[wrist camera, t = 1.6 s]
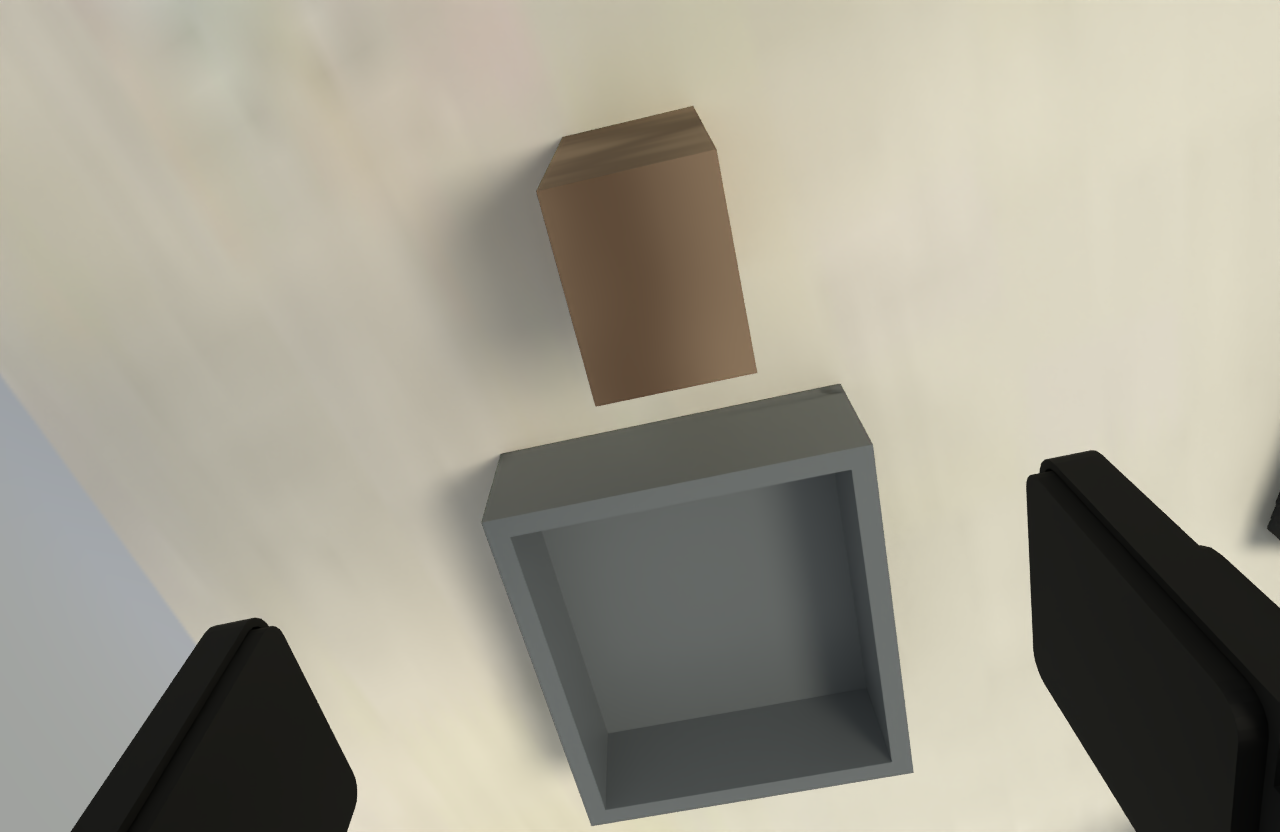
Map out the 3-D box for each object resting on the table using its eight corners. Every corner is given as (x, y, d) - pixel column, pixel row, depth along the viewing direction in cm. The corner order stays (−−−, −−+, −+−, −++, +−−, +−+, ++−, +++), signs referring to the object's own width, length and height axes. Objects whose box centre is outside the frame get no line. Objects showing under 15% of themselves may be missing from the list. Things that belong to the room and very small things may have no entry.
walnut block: (692, 105, 29) (715, 149, 21) (725, 275, 32) (757, 372, 24) (562, 137, 29) (536, 191, 21) (604, 302, 32) (595, 406, 24)
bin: (840, 383, 33) (872, 444, 29) (881, 685, 40) (913, 772, 36) (500, 454, 35) (481, 522, 30) (596, 735, 41) (591, 825, 37)
